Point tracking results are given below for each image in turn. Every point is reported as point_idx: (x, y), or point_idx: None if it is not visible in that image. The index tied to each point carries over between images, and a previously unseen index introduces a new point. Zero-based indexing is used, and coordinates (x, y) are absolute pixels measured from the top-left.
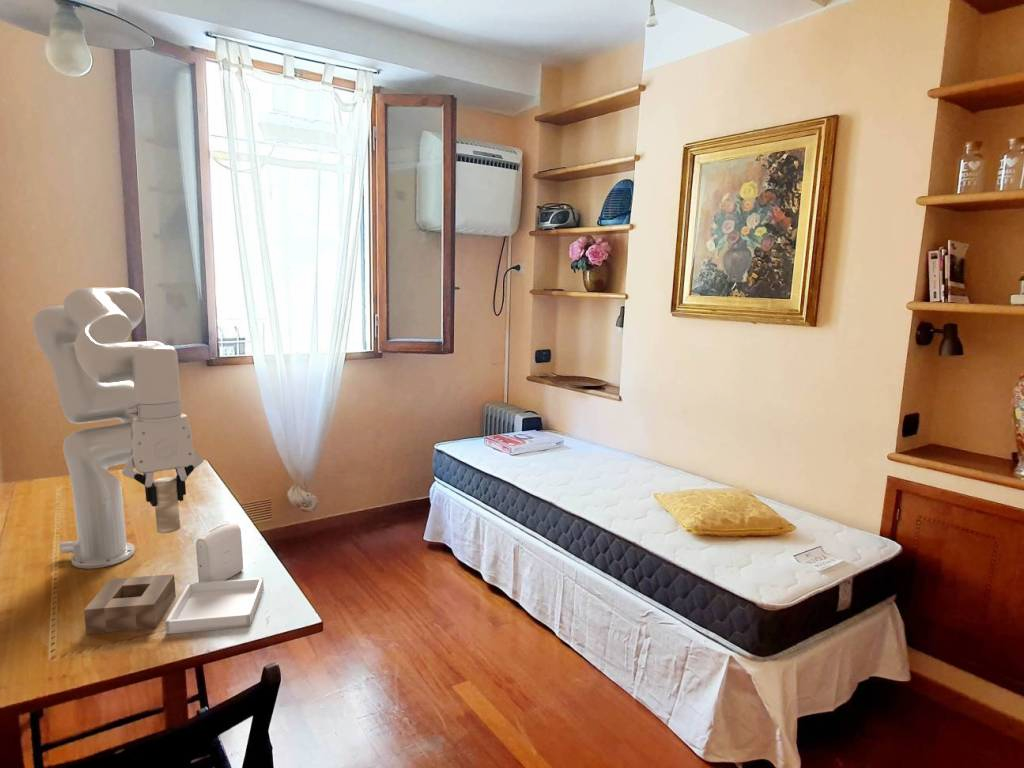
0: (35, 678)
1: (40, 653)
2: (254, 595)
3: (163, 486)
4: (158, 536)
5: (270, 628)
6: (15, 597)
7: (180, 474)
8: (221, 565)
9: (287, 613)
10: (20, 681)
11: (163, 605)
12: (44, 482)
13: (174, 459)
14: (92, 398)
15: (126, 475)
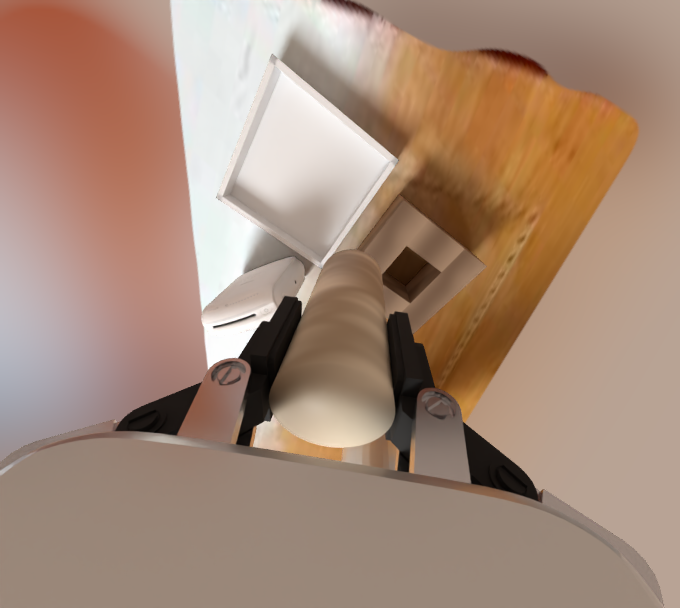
0: (582, 173)
1: (535, 243)
2: (244, 137)
3: (361, 356)
4: None
5: (250, 16)
6: (475, 393)
7: (233, 398)
8: (265, 270)
9: (208, 57)
10: (597, 181)
11: (374, 230)
12: None
13: (169, 596)
14: None
15: (606, 536)
